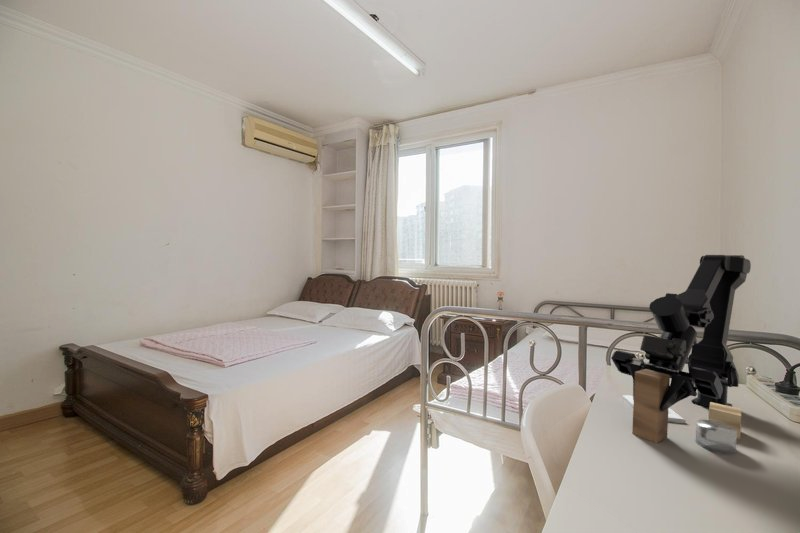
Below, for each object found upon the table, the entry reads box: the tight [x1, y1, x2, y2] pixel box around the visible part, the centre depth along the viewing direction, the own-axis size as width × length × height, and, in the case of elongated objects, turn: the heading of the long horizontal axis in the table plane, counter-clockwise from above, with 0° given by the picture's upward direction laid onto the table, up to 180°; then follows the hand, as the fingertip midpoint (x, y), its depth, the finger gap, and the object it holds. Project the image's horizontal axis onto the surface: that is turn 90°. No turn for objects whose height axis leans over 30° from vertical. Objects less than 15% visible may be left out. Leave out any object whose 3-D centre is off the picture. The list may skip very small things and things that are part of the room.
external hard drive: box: [622, 394, 687, 424], centre depth 86 cm, size 2×8×12 cm
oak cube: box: [708, 402, 742, 440], centre depth 76 cm, size 5×5×5 cm
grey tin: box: [694, 419, 738, 456], centre depth 70 cm, size 6×6×4 cm
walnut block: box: [631, 369, 671, 444], centre depth 73 cm, size 4×4×13 cm
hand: (647, 405), depth 72 cm, fingers closed on walnut block, 4 cm apart
